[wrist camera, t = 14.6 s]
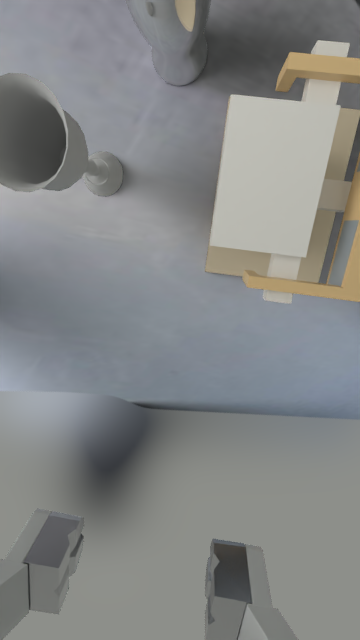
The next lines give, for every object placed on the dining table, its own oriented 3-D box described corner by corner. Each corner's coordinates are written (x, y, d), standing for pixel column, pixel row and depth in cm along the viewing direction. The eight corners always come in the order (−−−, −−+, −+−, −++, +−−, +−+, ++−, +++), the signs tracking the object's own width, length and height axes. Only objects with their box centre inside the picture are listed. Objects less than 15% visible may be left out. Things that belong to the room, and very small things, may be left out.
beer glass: (224, 59, 35) (235, -57, 20) (173, 105, 36) (150, 28, 22) (186, -2, 33) (169, -173, 19) (135, 48, 35) (85, -74, 21)
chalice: (123, 212, 40) (60, 202, 23) (71, 198, 40) (-30, 178, 23) (135, 149, 38) (75, 87, 21) (80, 134, 38) (-25, 60, 21)
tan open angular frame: (242, 279, 31) (247, 287, 28) (277, 76, 26) (289, 51, 22) (341, 292, 31) (360, 301, 27) (397, 88, 26) (429, 65, 22)
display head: (204, 272, 41) (202, 295, 28) (228, 98, 36) (241, 23, 22) (313, 286, 41) (364, 316, 27) (355, 111, 35) (447, 41, 22)
